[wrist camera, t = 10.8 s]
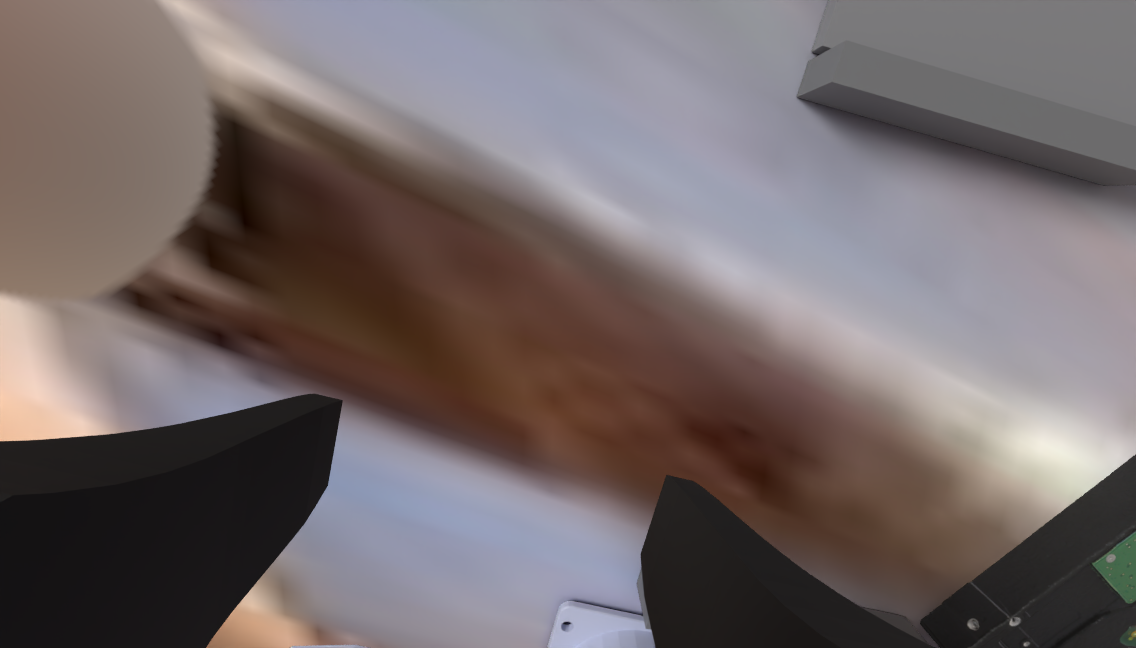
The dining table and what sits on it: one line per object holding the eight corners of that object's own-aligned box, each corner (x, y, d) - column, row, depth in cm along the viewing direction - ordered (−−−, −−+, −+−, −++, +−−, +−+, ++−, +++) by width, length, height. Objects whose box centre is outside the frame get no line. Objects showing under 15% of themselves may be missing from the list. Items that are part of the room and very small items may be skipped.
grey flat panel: (895, 639, 24) (932, 688, 21) (636, 583, 23) (645, 628, 21) (1239, -105, 18) (1348, -153, 15) (900, -218, 17) (958, -290, 14)
